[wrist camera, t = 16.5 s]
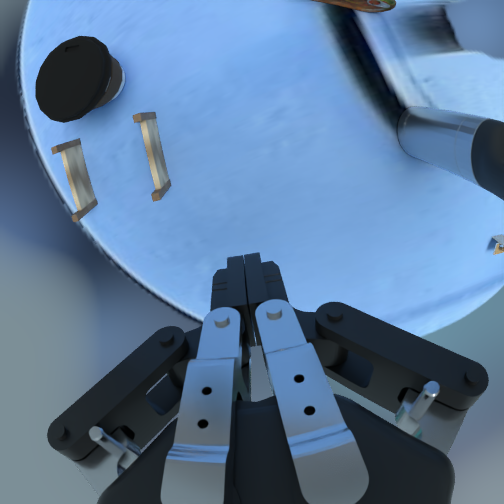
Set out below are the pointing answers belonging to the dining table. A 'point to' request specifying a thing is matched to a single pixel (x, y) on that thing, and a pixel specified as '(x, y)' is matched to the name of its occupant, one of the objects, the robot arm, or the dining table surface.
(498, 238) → the architectural model
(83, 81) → the coffee cup
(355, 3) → the tin
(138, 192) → the dining table surface
